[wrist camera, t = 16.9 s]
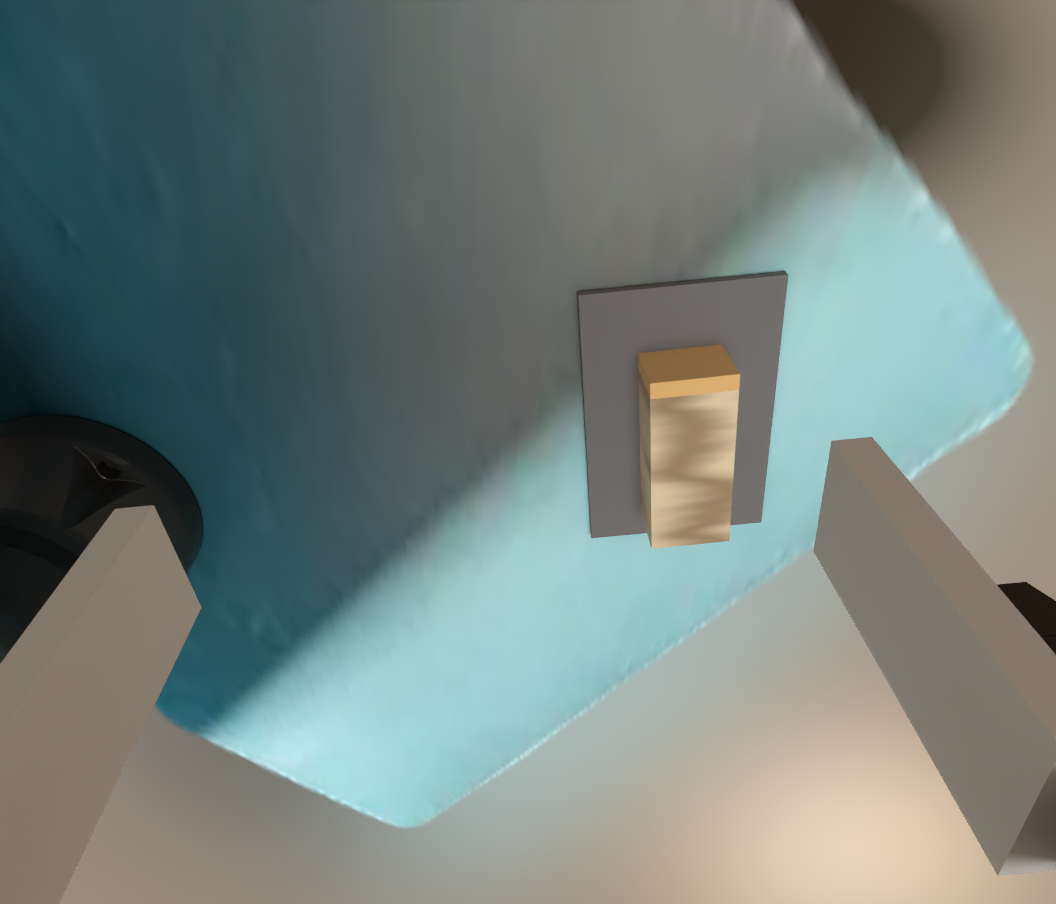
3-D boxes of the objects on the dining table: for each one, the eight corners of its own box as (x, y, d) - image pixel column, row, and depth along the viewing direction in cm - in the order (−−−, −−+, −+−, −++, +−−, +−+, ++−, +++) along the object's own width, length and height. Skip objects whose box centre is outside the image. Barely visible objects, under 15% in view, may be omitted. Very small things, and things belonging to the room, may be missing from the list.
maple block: (713, 503, 50) (721, 344, 43) (729, 540, 46) (740, 374, 40) (641, 510, 50) (638, 353, 43) (651, 548, 46) (650, 383, 40)
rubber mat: (590, 532, 51) (591, 537, 51) (577, 291, 42) (578, 295, 41) (758, 516, 51) (761, 522, 51) (784, 271, 41) (788, 274, 41)
